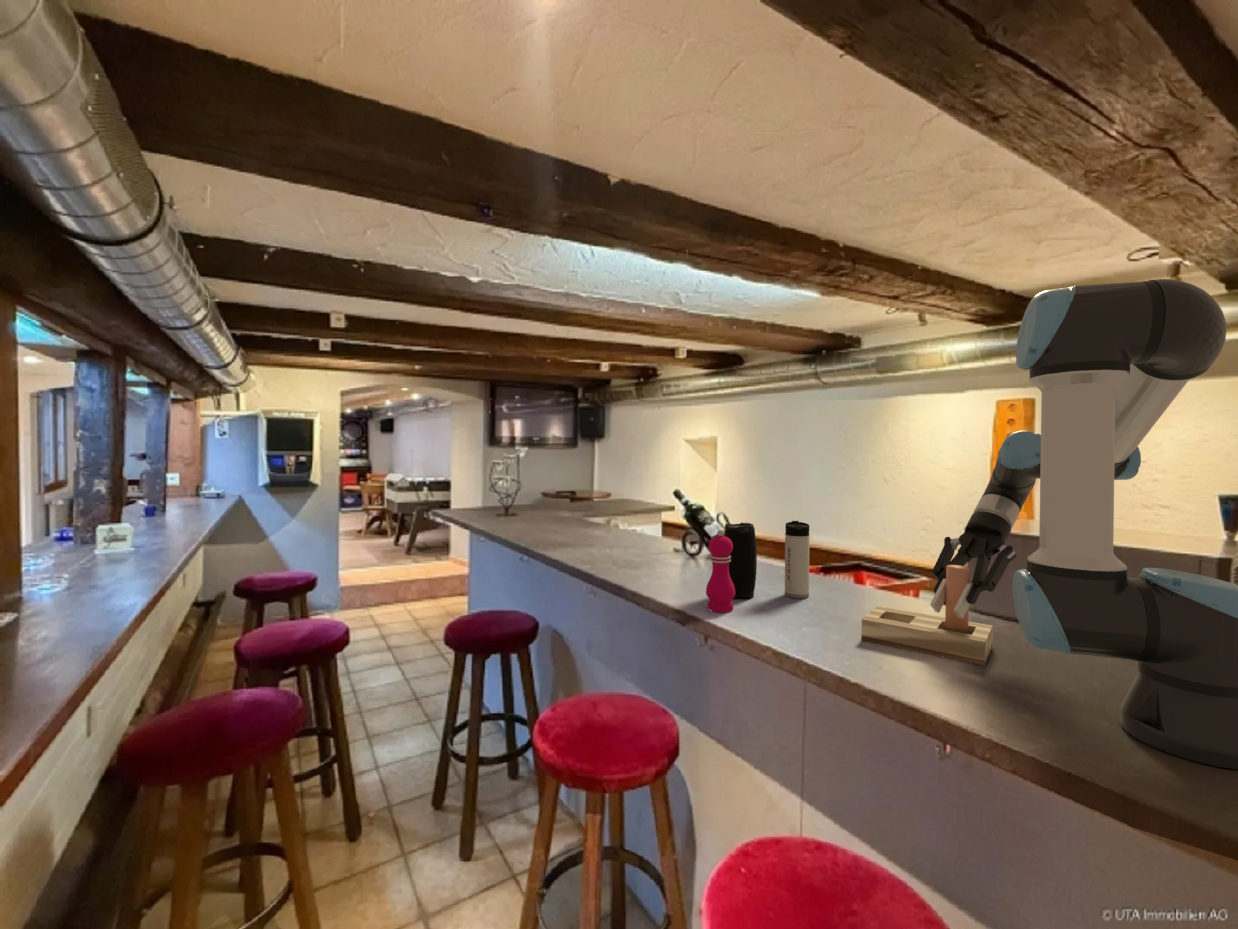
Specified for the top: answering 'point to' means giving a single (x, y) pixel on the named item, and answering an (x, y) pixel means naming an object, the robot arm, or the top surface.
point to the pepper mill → (720, 575)
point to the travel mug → (797, 560)
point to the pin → (955, 595)
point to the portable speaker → (742, 558)
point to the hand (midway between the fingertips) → (946, 611)
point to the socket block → (927, 634)
